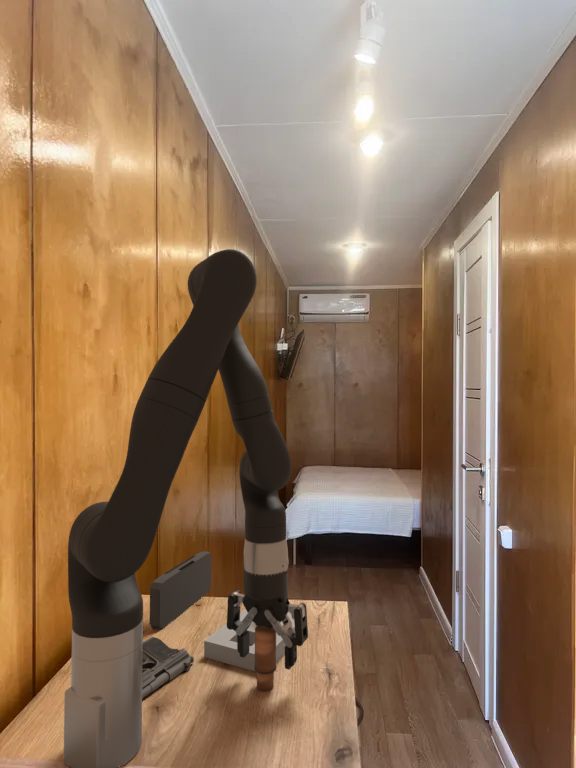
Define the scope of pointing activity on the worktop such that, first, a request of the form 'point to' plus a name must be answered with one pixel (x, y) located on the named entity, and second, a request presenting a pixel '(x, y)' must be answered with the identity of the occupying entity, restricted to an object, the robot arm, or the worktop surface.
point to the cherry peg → (265, 657)
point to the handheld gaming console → (179, 589)
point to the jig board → (225, 645)
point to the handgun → (161, 664)
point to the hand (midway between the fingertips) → (266, 660)
